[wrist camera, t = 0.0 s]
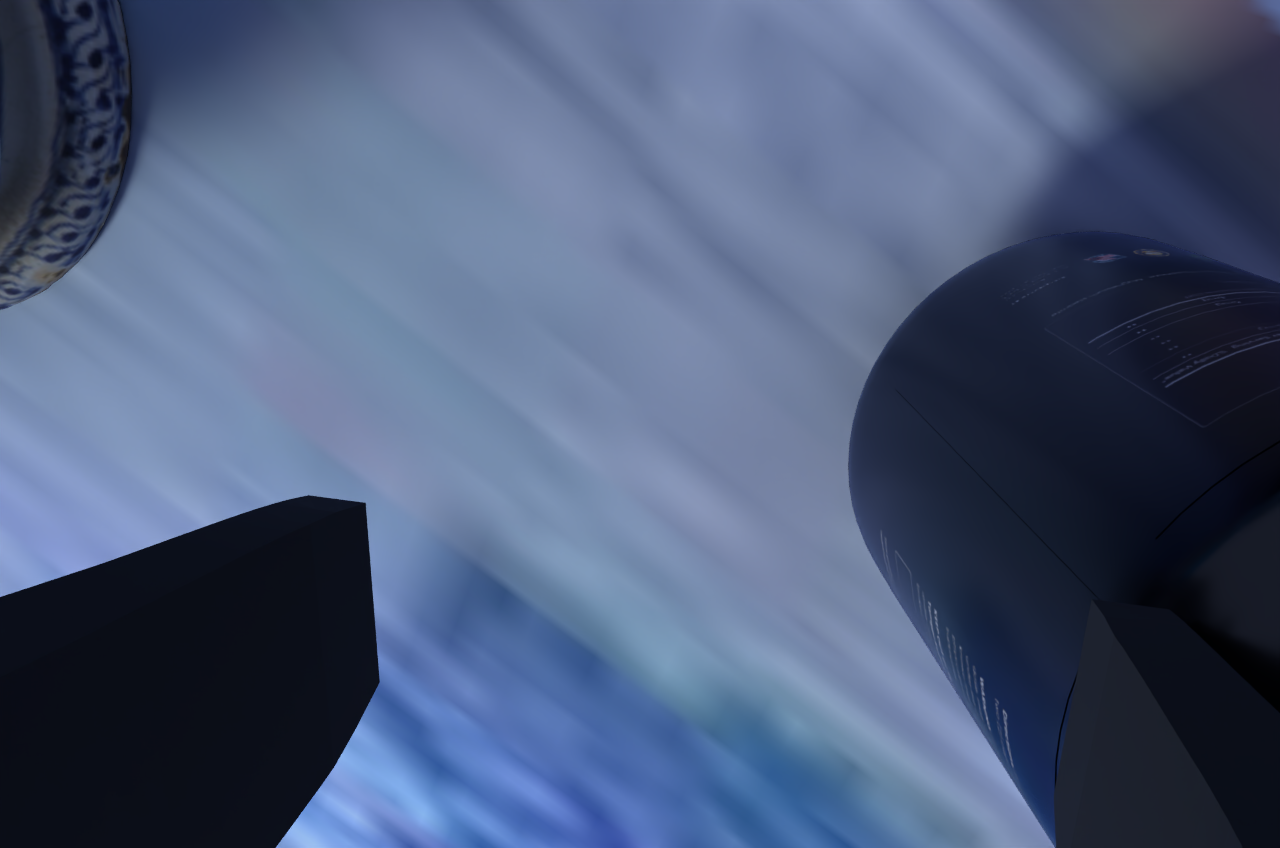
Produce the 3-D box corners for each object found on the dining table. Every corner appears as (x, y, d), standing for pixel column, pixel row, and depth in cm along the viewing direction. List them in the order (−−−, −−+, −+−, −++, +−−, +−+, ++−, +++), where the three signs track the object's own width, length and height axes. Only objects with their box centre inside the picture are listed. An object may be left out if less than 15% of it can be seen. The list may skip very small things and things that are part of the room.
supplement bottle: (1215, 608, 20) (2104, 1414, 9) (826, 628, 19) (1236, 1516, 8) (1293, 210, 17) (2679, 612, 6) (851, 220, 17) (1488, 679, 6)
